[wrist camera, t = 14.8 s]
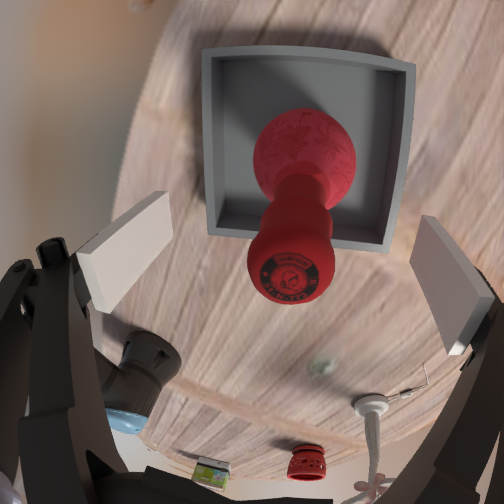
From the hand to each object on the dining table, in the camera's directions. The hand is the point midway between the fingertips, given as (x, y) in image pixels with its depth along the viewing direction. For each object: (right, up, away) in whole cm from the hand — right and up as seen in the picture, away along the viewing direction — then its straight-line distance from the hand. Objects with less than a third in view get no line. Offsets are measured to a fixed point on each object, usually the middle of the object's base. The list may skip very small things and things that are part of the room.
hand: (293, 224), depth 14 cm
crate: (+5, +13, +22) cm, 26 cm away
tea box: (-19, -101, +95) cm, 140 cm away
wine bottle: (+5, +13, +21) cm, 25 cm away
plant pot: (+18, -71, +69) cm, 100 cm away
